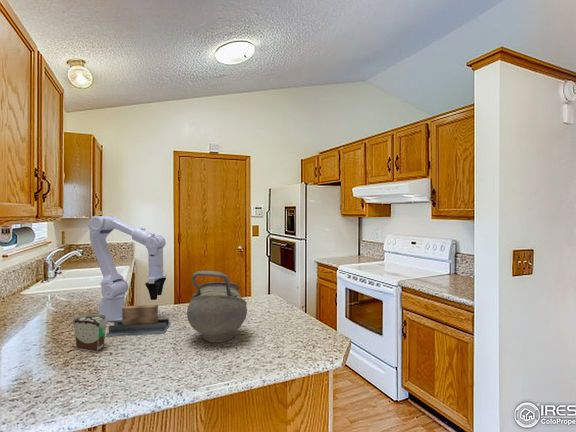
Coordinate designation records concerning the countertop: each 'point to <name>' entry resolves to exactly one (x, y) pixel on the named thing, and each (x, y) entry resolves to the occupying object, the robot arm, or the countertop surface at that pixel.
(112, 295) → the robot arm
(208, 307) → the pot
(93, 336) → the food container
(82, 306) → the countertop surface
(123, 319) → the door panel
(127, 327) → the track
